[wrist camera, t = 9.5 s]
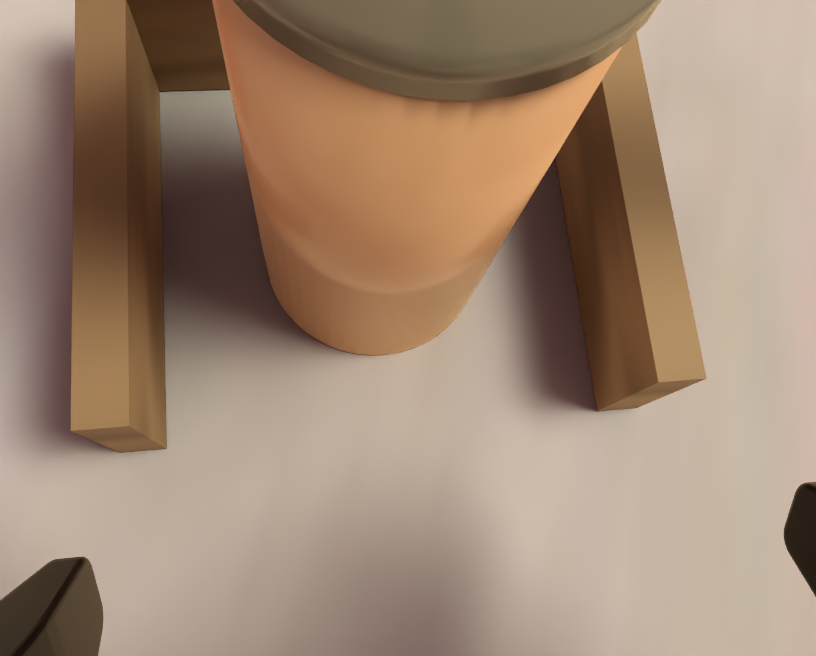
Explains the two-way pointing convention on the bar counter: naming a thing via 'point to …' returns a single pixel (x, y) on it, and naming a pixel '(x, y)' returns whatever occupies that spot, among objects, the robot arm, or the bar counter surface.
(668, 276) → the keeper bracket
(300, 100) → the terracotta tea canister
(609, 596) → the bar counter surface
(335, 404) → the bar counter surface
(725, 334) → the bar counter surface
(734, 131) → the bar counter surface
